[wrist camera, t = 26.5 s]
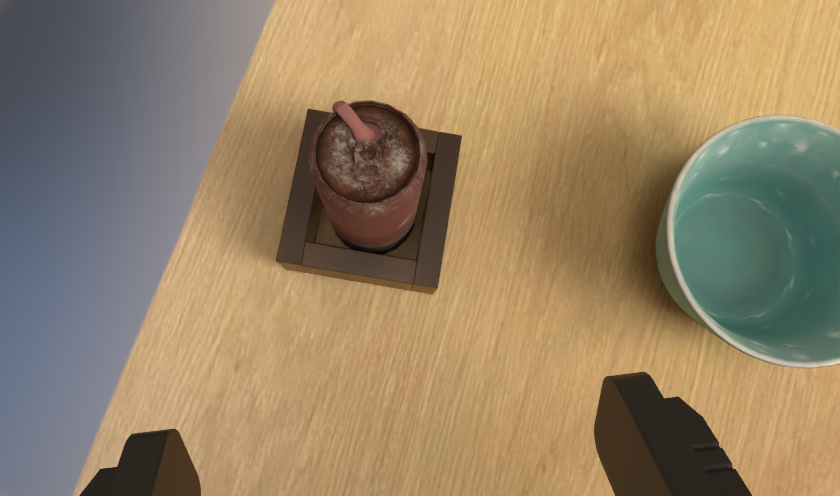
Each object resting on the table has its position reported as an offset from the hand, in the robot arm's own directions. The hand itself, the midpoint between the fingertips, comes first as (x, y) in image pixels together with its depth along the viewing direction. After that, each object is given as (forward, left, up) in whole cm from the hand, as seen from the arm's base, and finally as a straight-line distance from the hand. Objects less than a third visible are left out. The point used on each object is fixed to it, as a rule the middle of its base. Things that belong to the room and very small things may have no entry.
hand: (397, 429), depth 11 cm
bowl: (+23, +12, -31) cm, 40 cm away
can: (-3, +11, -31) cm, 33 cm away
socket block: (-3, +11, -31) cm, 33 cm away
